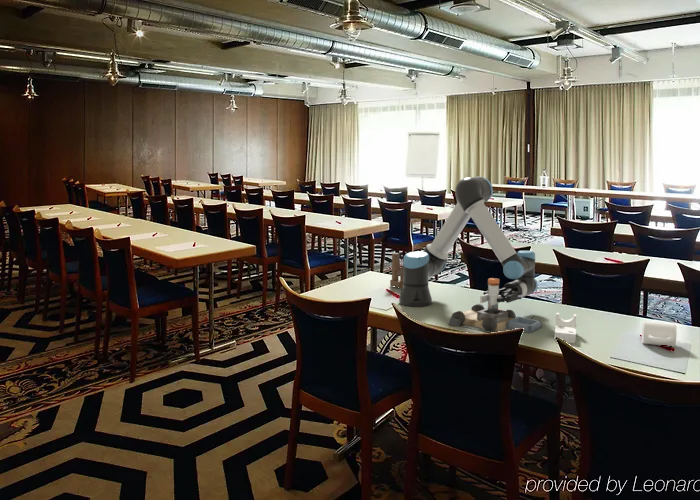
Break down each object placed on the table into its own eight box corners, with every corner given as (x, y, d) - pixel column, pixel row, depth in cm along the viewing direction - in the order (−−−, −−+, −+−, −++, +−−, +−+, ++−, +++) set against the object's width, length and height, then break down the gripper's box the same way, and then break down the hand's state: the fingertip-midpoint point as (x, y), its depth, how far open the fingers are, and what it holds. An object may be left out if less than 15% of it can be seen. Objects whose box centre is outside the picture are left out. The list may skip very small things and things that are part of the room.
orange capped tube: (484, 318, 218) (486, 279, 216) (490, 316, 221) (491, 277, 219) (494, 321, 215) (496, 280, 213) (500, 318, 218) (501, 279, 216)
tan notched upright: (404, 290, 280) (405, 255, 277) (389, 286, 288) (390, 253, 285) (409, 289, 283) (410, 254, 280) (394, 285, 291) (395, 252, 288)
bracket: (555, 331, 210) (556, 312, 209) (575, 333, 208) (576, 314, 207) (554, 341, 198) (555, 321, 197) (575, 343, 196) (576, 323, 195)
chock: (448, 324, 219) (448, 318, 219) (452, 323, 221) (452, 317, 220) (457, 326, 216) (457, 320, 216) (460, 325, 218) (460, 319, 218)
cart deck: (450, 322, 222) (450, 309, 221) (473, 314, 234) (473, 301, 234) (494, 332, 208) (495, 319, 207) (516, 323, 221) (517, 309, 220)
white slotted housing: (641, 339, 199) (642, 318, 198) (672, 343, 195) (674, 321, 194) (643, 349, 189) (645, 327, 187) (677, 353, 185) (679, 330, 183)
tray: (506, 327, 214) (506, 321, 214) (517, 322, 222) (518, 316, 221) (530, 333, 208) (530, 326, 207) (541, 327, 215) (541, 321, 214)
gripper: (533, 302, 225) (506, 313, 208) (495, 295, 236) (467, 306, 219) (534, 284, 223) (506, 294, 207) (496, 279, 235) (467, 288, 218)
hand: (486, 300), depth 213 cm, fingers closed on orange capped tube, 4 cm apart
